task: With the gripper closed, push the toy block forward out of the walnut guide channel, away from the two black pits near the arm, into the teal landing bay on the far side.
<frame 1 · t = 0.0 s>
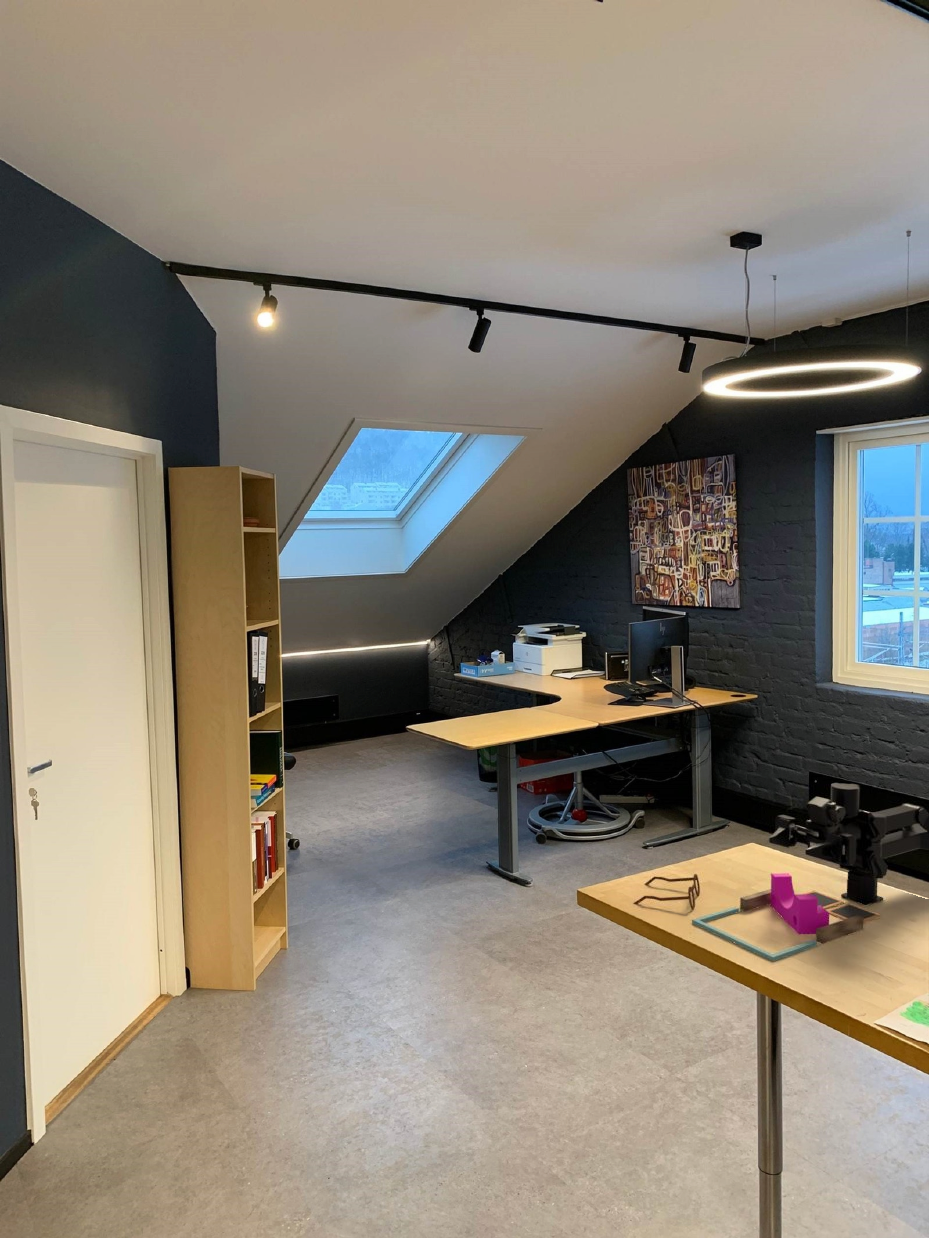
hand: (787, 846, 188), 17 cm above the table, tool horizontal, fingers open, 9 cm apart
guide channel: (799, 918, 191), on the table
pit traps: (834, 907, 197), on the table
landing bay: (754, 933, 184), on the table
toy block: (798, 920, 191), on the table
glasses: (667, 900, 204), on the table
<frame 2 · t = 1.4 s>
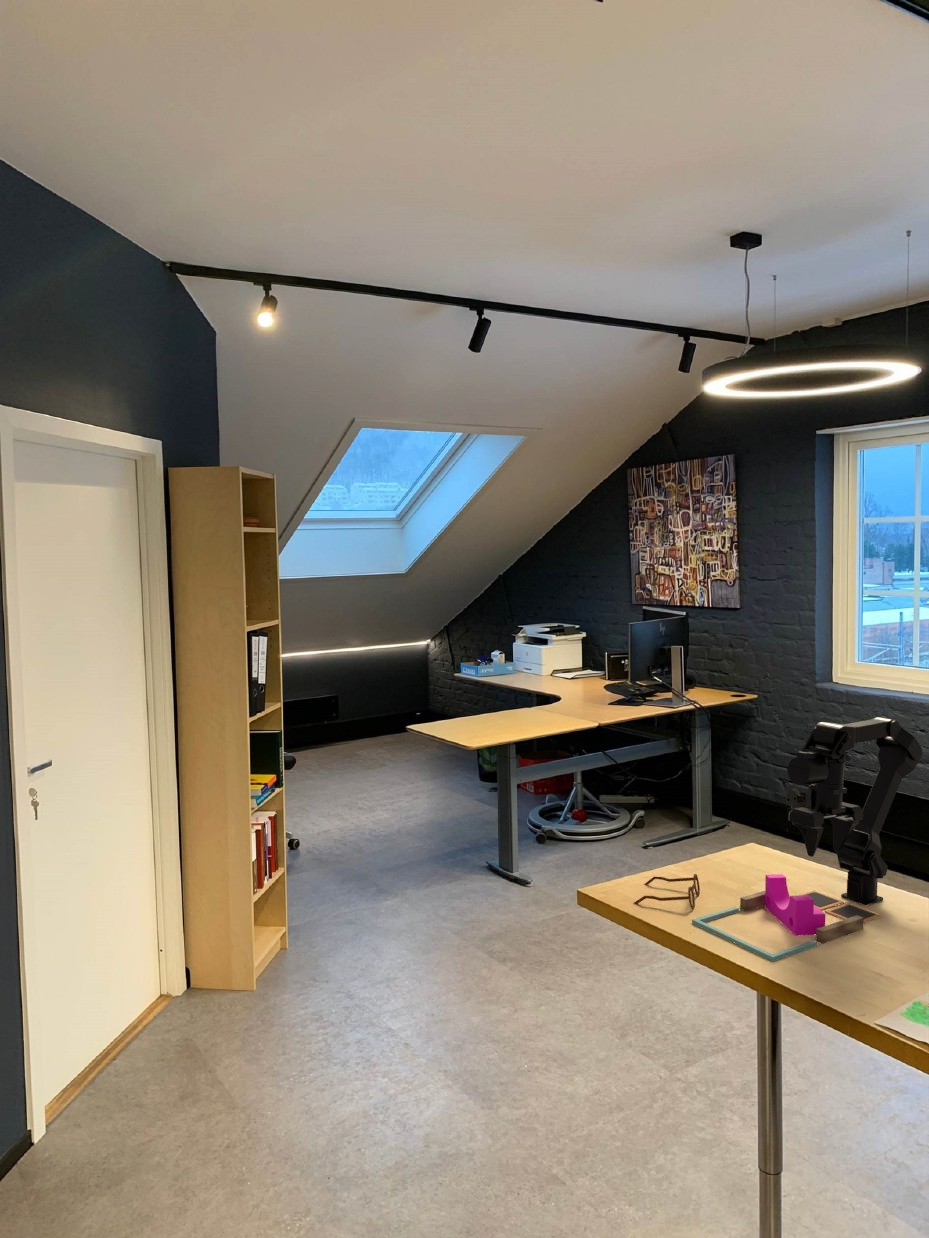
hand: (823, 853, 194), 13 cm above the table, tool pointing down, fingers open, 9 cm apart
toy block: (793, 922, 190), on the table
everything else where it was.
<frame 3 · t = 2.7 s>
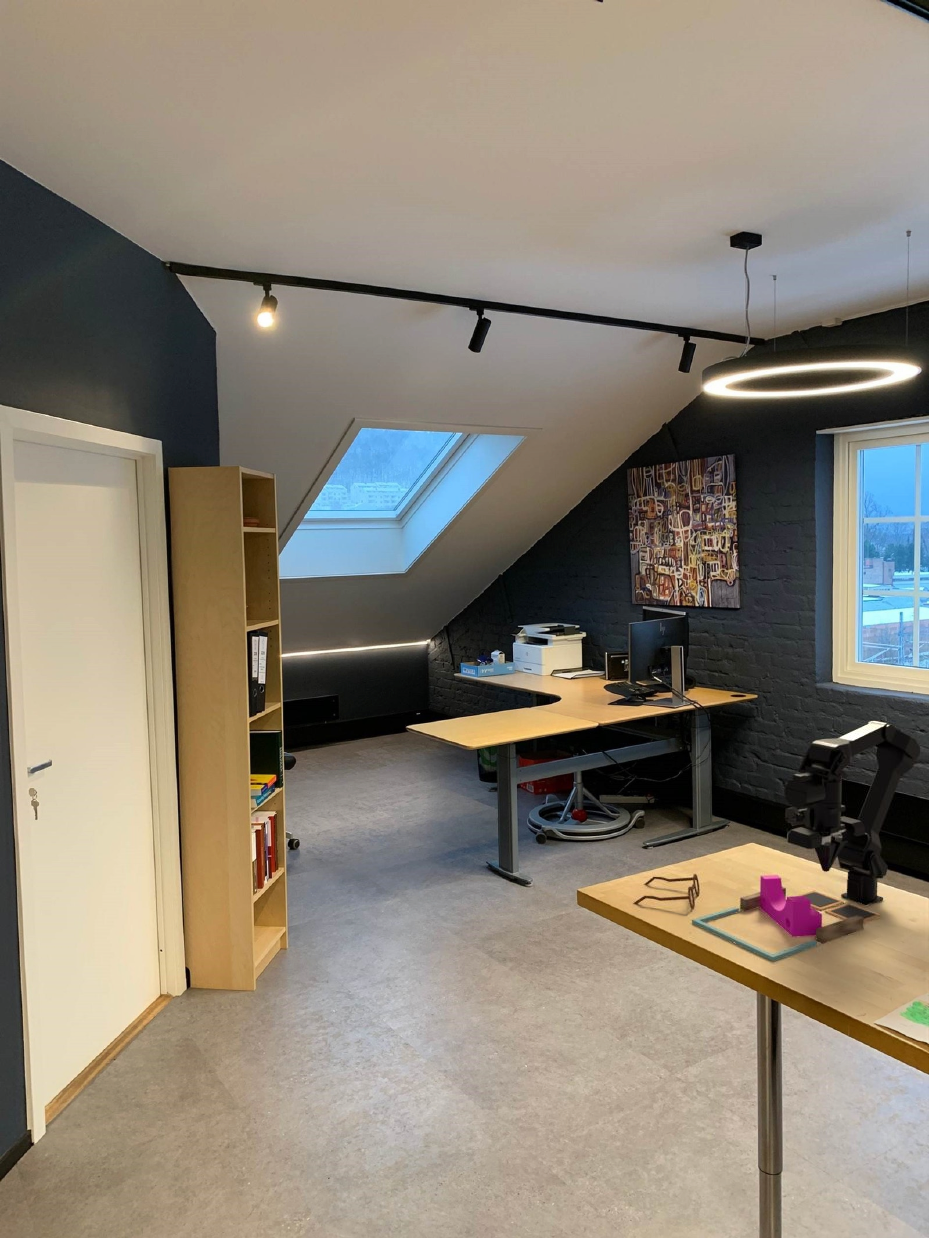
hand: (825, 870, 195), 9 cm above the table, tool pointing down, fingers closed
toy block: (789, 922, 190), on the table
everything else where it was.
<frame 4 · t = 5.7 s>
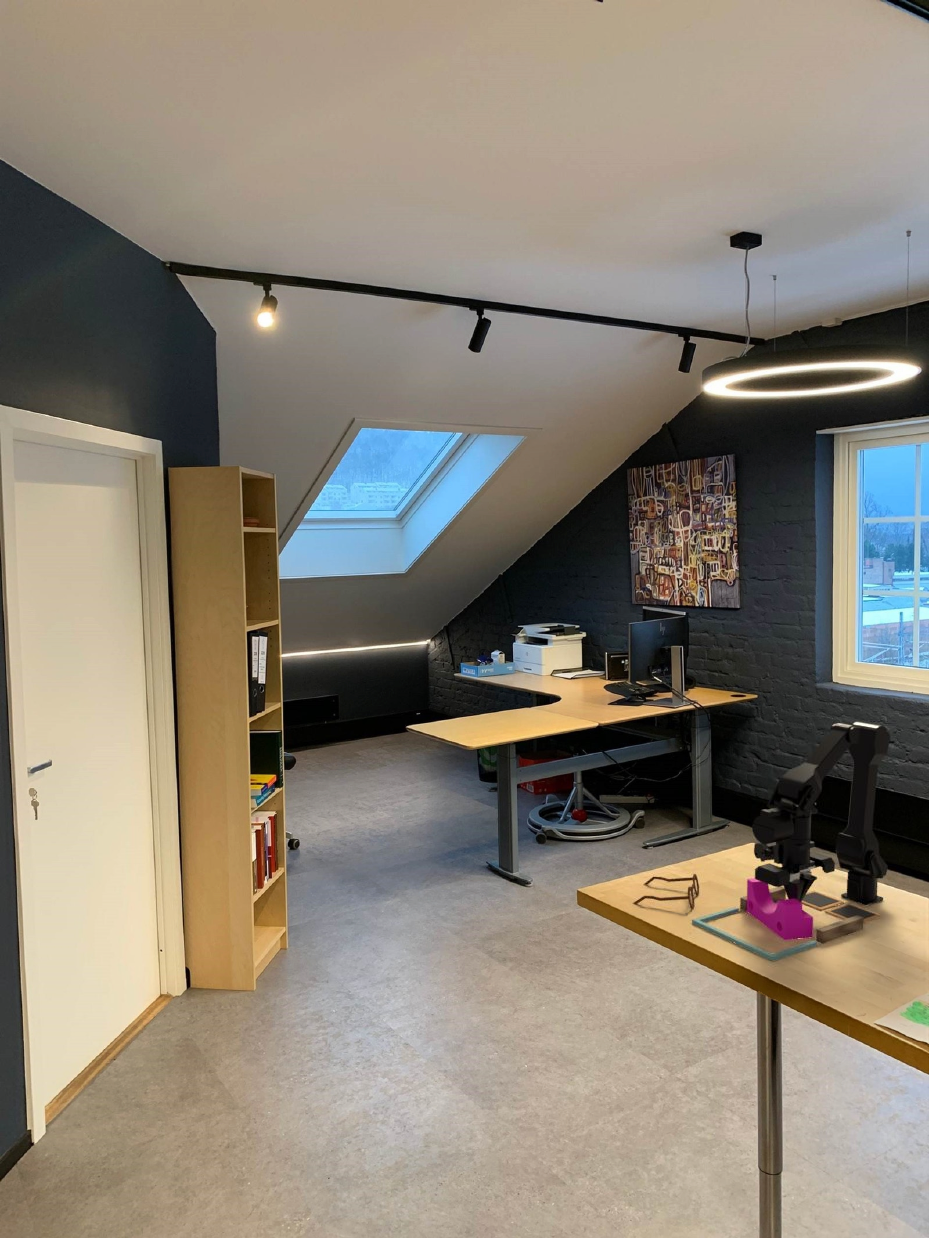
hand: (794, 908, 190), 3 cm above the table, tool pointing down, fingers closed
toy block: (778, 926, 189), on the table
everything else where it was.
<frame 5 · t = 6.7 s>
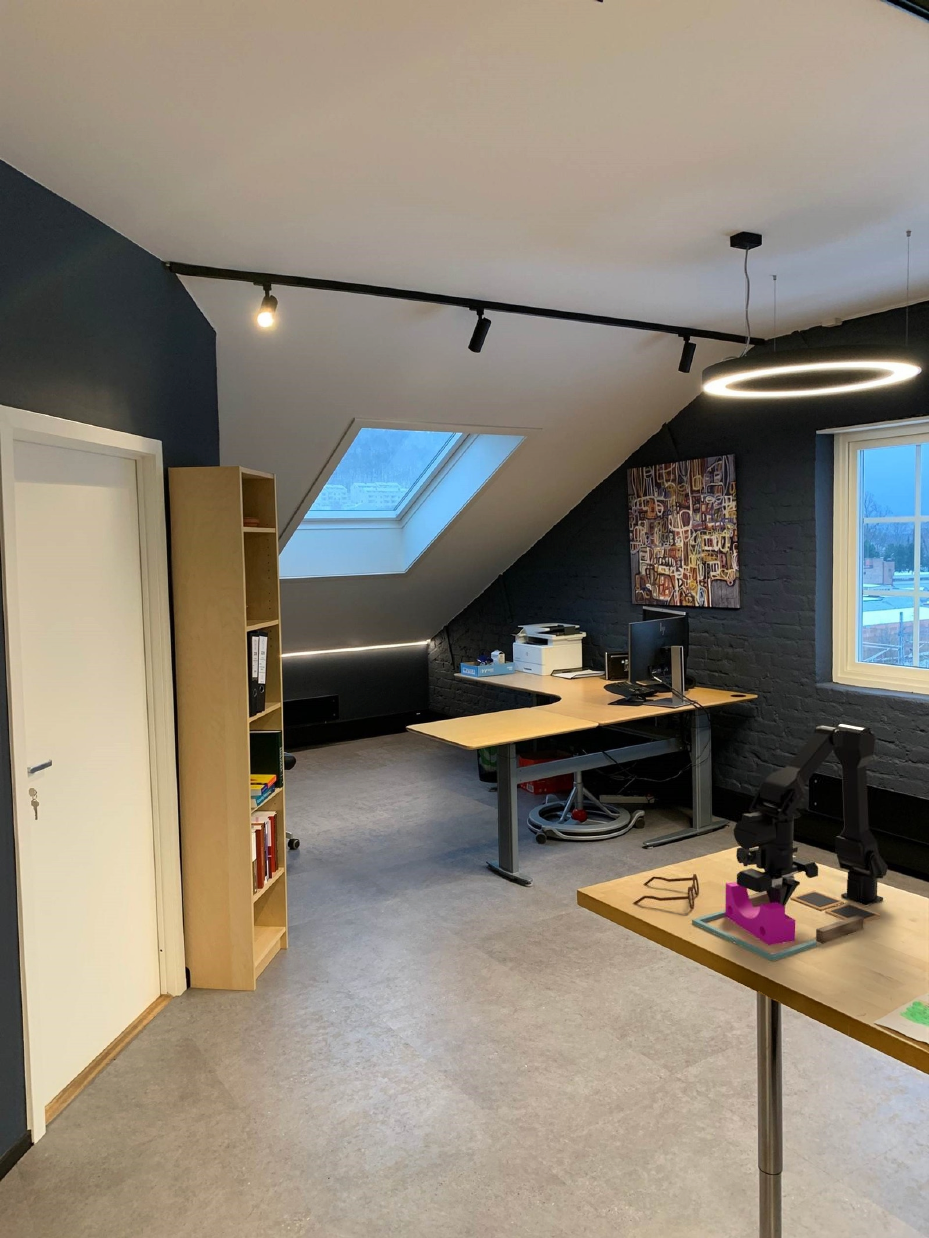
hand: (777, 913, 187), 3 cm above the table, tool pointing down, fingers closed
toy block: (759, 930, 186), on the table, touching gripper
everything else where it was.
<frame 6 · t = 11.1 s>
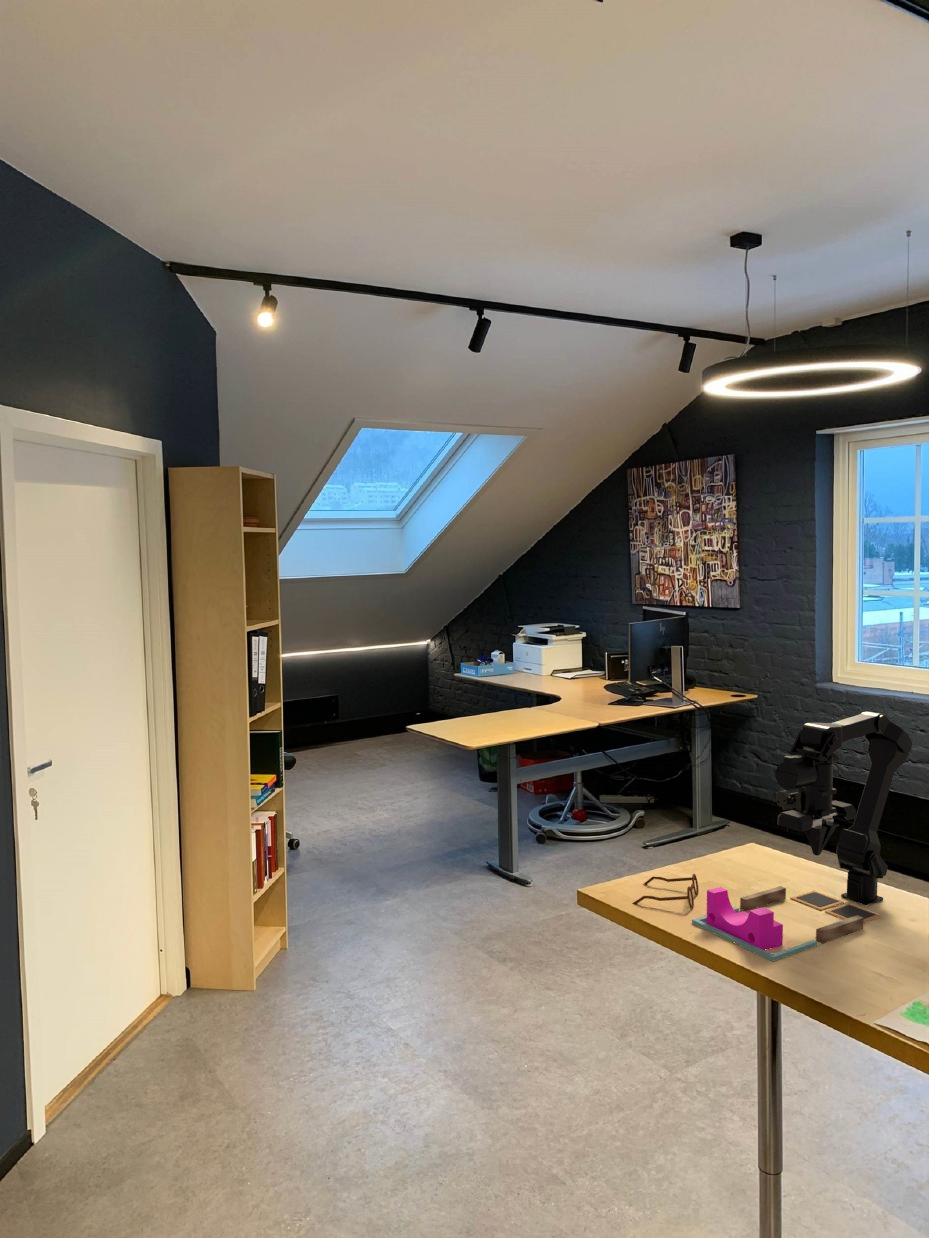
hand: (816, 854, 193), 13 cm above the table, tool pointing down, fingers closed
toy block: (743, 936, 183), on the table
everything else where it was.
at the end: toy block inside the target area (2.1 cm from its centre), on the table; toy block tilted 0°; toy block moved 16.2 cm from its start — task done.
